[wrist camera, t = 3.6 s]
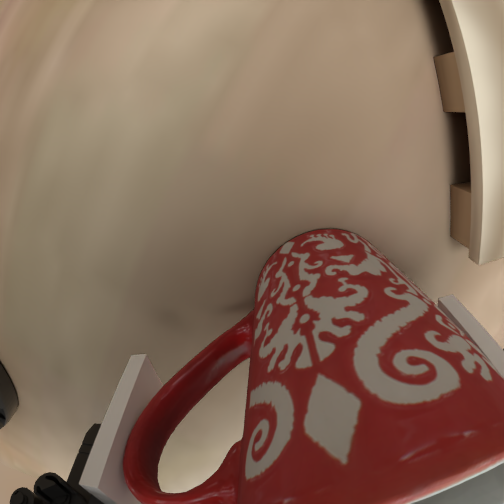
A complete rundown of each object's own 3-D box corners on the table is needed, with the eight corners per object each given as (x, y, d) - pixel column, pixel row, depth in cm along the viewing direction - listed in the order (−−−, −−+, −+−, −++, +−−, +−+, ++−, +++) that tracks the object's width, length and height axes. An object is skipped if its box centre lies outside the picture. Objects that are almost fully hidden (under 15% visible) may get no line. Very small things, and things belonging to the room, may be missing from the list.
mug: (403, 198, 15) (618, 372, 2) (394, 339, 18) (479, 526, 6) (157, 231, 16) (-8, 472, 3) (198, 366, 19) (159, 574, 7)
